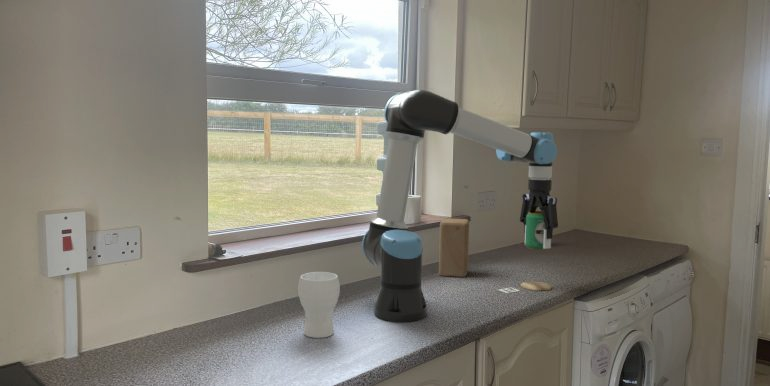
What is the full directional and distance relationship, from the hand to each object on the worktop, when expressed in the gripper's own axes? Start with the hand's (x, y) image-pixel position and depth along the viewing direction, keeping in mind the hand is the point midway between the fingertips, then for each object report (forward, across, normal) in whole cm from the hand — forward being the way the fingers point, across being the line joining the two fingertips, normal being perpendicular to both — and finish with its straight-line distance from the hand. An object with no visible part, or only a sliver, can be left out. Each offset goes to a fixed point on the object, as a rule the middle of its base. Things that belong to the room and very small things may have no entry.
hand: (537, 245), depth 198 cm
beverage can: (+1, 0, 0) cm, 1 cm away
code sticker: (+14, +1, +11) cm, 18 cm away
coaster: (+14, 0, 0) cm, 14 cm away
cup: (+14, -8, +83) cm, 85 cm away
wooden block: (+14, +28, +14) cm, 34 cm away
